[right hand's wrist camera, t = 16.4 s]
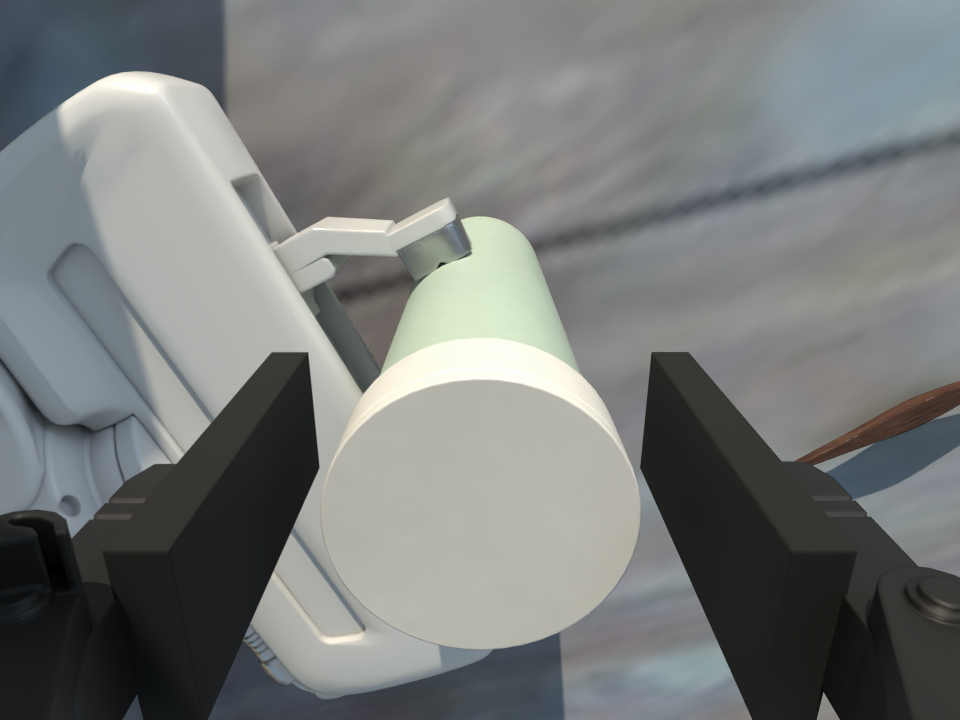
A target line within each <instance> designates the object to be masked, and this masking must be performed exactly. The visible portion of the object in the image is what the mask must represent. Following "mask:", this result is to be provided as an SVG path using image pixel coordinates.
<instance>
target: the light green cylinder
mask: <svg viewBox="0 0 960 720" xmlns="http://www.w3.org/2000/svg"><path fill="white" fill-rule="evenodd" d="M461 222H462V224H463V226H464V228H465V230H466V232H467V234H468V236H469V238H470V240H471V242H472V245H471V247H472V249H471V251H470V252H469V253H467V254H466V255H465V256H463V257H461V258H460V259H458V260H456V261H453V262H451V263H443V262H440V263H439V265H438V267H437V269H436V270H435V271H433V272H432V273H431V274H429V275H427V276H425V277H423V278H421V279H419V280H417V281H415V282H414V285H413V288H412V290H411V293H410V296H409V298H408V301H407V304H406V306H405V309H404V312H403V314H402V317H401V320H400V322H399V325H398V328H397V330H396V333H395V336H394V338H393V341H392V344H391V346H390V349H389V352H388V355H387V357H386V360H385V363H384V365H383V368H382V371H381V373H380V376H381V375H382V374H383V373H384V372H385V371H386V370H387V369H388V368H390V367H391V366H393V365H394V364H396V363H397V362H399V361H400V360H402V359H403V358H405V357H407V356H409V355H411V354H413V353H415V352H417V351H419V350H421V349H424V348H427V347H430V346H433V345H436V344H439V343H443V342H448V341H453V340H457V339H469V338H495V339H502V340H508V341H515V342H518V343H522V344H525V345H529V346H532V347H535V348H537V349H540V350H542V351H544V352H546V353H549V354H551V355H553V356H554V357H556V358H558V359H559V360H561V361H563V362H564V363H566V364H568V365H569V366H570V367H571V368H573V369H574V370H575V371H576V372H578V373H579V374H580V375H581V373H580V370H579V368H578V365H577V362H576V360H575V357H574V354H573V352H572V349H571V346H570V344H569V341H568V339H567V336H566V333H565V331H564V328H563V325H562V323H561V320H560V317H559V315H558V312H557V310H556V307H555V304H554V302H553V299H552V296H551V294H550V291H549V289H548V286H547V283H546V281H545V278H544V275H543V273H542V270H541V267H540V265H539V262H538V260H537V257H536V254H535V252H534V250H533V248H532V246H531V244H530V243H529V241H528V240H527V239H526V237H525V236H524V235H523V234H522V233H521V232H520V231H519V230H517V229H516V228H515V227H513V226H512V225H510V224H508V223H506V222H504V221H501V220H499V219H495V218H490V217H471V218H466V219H462V220H461ZM581 376H582V375H581Z"/></svg>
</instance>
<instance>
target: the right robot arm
mask: <svg viewBox="0 0 960 720" xmlns="http://www.w3.org/2000/svg"><path fill="white" fill-rule="evenodd" d="M319 468H320V466H319V456H318V446H317V435H316V425H315V415H314V405H313V395H312V385H311V374H310V364H309V354H308V352H271V354H270V355H269V356H268V357H267V358H266V359H265V361H264V362H263V363H262V364H261V365H260V366H259V368H258V369H257V370H256V371H255V372H254V373H253V375H252V376H251V377H250V378H249V379H248V381H247V382H246V383H245V384H244V385H243V386H242V388H241V389H240V390H239V391H238V392H237V393H236V395H235V396H234V397H233V398H232V399H231V400H230V402H229V403H228V404H227V405H226V406H225V407H224V409H223V410H222V411H221V412H220V413H219V414H218V416H217V417H216V418H215V419H214V420H213V422H212V423H211V424H210V425H209V426H208V427H207V429H206V430H205V431H204V432H203V433H202V434H201V436H200V437H199V438H198V439H197V440H196V441H195V443H194V444H193V445H192V446H191V447H190V448H189V450H188V451H187V452H186V453H185V454H184V456H183V457H182V458H181V459H180V460H179V461H178V463H177V464H154V465H152V466H150V467H149V468H147V469H145V470H143V471H142V472H140V473H138V474H137V475H135V476H133V477H131V478H130V479H128V480H127V481H126V482H125V483H124V484H123V485H122V486H121V487H120V488H119V489H118V490H117V491H116V492H115V493H114V494H113V495H112V496H111V498H110V499H109V503H105V504H104V505H103V506H102V507H101V508H100V509H99V510H98V511H97V512H96V513H95V514H94V518H93V519H90V520H89V521H88V522H87V523H86V524H85V525H84V526H83V527H82V528H81V529H80V530H79V531H78V532H77V533H76V534H75V535H74V537H73V538H72V539H71V536H70V532H69V528H68V524H67V520H66V519H65V518H63V517H62V516H61V515H59V514H58V513H56V512H51V511H45V510H38V509H37V510H26V511H14V512H10V513H6V514H2V515H0V720H122V719H123V717H124V715H125V714H126V712H127V710H128V709H129V707H130V705H131V704H132V702H133V700H134V698H135V697H136V695H138V699H139V703H140V707H141V712H142V716H143V720H208V717H209V715H210V713H211V711H212V708H213V706H214V704H215V702H216V699H217V697H218V695H219V693H220V690H221V688H222V686H223V684H224V681H225V679H226V677H227V675H228V672H229V670H230V668H231V666H232V663H233V661H234V659H235V657H236V655H237V652H238V650H239V648H240V646H241V643H242V641H243V639H244V637H245V634H246V632H247V630H248V628H249V625H250V623H251V621H252V619H253V616H254V614H255V612H256V610H257V607H258V605H259V603H260V601H261V598H262V596H263V594H264V592H265V589H266V587H267V585H268V583H269V580H270V578H271V576H272V574H273V571H274V569H275V567H276V565H277V563H278V560H279V558H280V556H281V554H282V551H283V549H284V547H285V545H286V542H287V540H288V538H289V536H290V533H291V531H292V529H293V527H294V524H295V522H296V520H297V518H298V515H299V513H300V511H301V509H302V506H303V504H304V502H305V500H306V497H307V495H308V493H309V491H310V488H311V486H312V484H313V482H314V479H315V477H316V475H317V473H318V470H319ZM640 468H641V470H642V473H643V475H644V477H645V479H646V482H647V484H648V486H649V488H650V491H651V493H652V495H653V497H654V500H655V502H656V504H657V506H658V509H659V511H660V513H661V515H662V518H663V520H664V522H665V524H666V527H667V529H668V531H669V533H670V536H671V538H672V540H673V542H674V545H675V547H676V549H677V551H678V554H679V556H680V558H681V560H682V563H683V565H684V567H685V569H686V571H687V574H688V576H689V578H690V580H691V583H692V585H693V587H694V589H695V592H696V594H697V596H698V598H699V601H700V603H701V605H702V607H703V610H704V612H705V614H706V616H707V619H708V621H709V623H710V625H711V628H712V630H713V632H714V634H715V637H716V639H717V641H718V643H719V646H720V648H721V650H722V652H723V655H724V657H725V659H726V661H727V664H728V666H729V668H730V670H731V672H732V675H733V677H734V679H735V681H736V684H737V686H738V688H739V690H740V693H741V695H742V697H743V699H744V702H745V704H746V706H747V708H748V711H749V713H750V715H751V717H752V720H817V716H818V711H819V707H820V703H821V699H822V695H823V691H824V693H825V695H826V697H827V698H828V700H829V702H830V703H831V705H832V707H833V708H834V710H835V712H836V714H837V715H838V717H839V719H840V720H960V578H959V577H957V576H955V575H952V574H949V573H945V572H942V571H938V570H935V569H932V568H926V567H918V566H917V565H916V564H915V563H914V562H913V561H912V559H911V558H910V557H909V556H908V555H907V554H906V553H905V552H904V551H903V550H902V549H901V548H900V547H899V546H898V545H897V544H896V543H895V542H894V541H893V540H892V539H891V537H890V536H889V535H888V534H887V533H886V532H885V531H884V530H883V529H882V528H881V527H880V526H879V525H878V524H877V523H876V522H875V521H874V520H873V519H872V518H871V517H867V512H866V511H865V510H864V509H863V508H862V507H861V506H860V505H859V504H858V503H857V502H856V501H852V497H851V496H850V495H849V494H848V493H847V491H846V490H845V489H844V488H843V487H842V486H841V485H840V484H839V483H838V482H837V481H836V480H835V479H834V478H833V477H831V476H829V475H828V474H826V473H824V472H823V471H821V470H819V469H817V468H816V467H814V466H812V465H811V464H809V463H807V462H782V461H781V460H780V459H779V458H778V457H777V456H776V454H775V453H774V452H773V451H772V450H771V448H770V447H769V446H768V445H767V444H766V443H765V441H764V440H763V439H762V438H761V437H760V436H759V434H758V433H757V432H756V431H755V430H754V429H753V427H752V426H751V425H750V424H749V423H748V422H747V420H746V419H745V418H744V417H743V416H742V414H741V413H740V412H739V411H738V410H737V409H736V407H735V406H734V405H733V404H732V403H731V402H730V400H729V399H728V398H727V397H726V396H725V395H724V393H723V392H722V391H721V390H720V389H719V388H718V386H717V385H716V384H715V383H714V382H713V381H712V379H711V378H710V377H709V376H708V375H707V373H706V372H705V371H704V370H703V369H702V368H701V366H700V365H699V364H698V363H697V362H696V361H695V359H694V358H693V357H692V356H691V355H690V354H689V352H652V354H651V364H650V374H649V385H648V395H647V405H646V415H645V425H644V435H643V446H642V456H641V466H640Z"/></svg>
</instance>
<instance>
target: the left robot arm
mask: <svg viewBox="0 0 960 720" xmlns="http://www.w3.org/2000/svg"><path fill="white" fill-rule="evenodd" d="M456 213H457V212H456V210H455V208H454V206H453V204H452V203H451V201H450V199H449V198H446V199H444V200H441V201H439V202H437V203H435V204H433V205H431V206H429V207H427V208H425V209H424V210H422V211H420V212H418V213H416V214H414V215H412V216H410V217H408V218H407V219H405V220H403V221H401V222H399V223H397V224H395V223H394V221H392V220H374V219H357V218H339V217H327V218H325V219H323V220H321V221H319V222H317V223H315V224H314V225H312V226H310V227H308V228H306V229H304V230H303V231H301V232H299V233H297V231H296V230H295V228H294V226H293V225H292V223H291V222H290V220H289V218H288V217H287V215H286V213H285V212H284V210H283V208H282V207H281V205H280V203H279V202H278V200H277V199H276V197H275V195H274V194H273V192H272V190H271V189H270V187H269V185H268V184H267V182H266V181H265V179H264V177H263V176H262V174H261V172H260V171H259V169H258V167H257V166H256V164H255V163H254V161H253V159H252V158H251V156H250V154H249V153H248V151H247V149H246V148H245V146H244V145H243V143H242V141H241V140H240V138H239V136H238V135H237V133H236V131H235V130H234V128H233V127H232V125H231V123H230V122H229V120H228V118H227V117H226V115H225V113H224V112H223V110H222V108H221V107H220V105H219V103H218V102H217V100H216V99H215V97H214V96H213V94H212V93H211V92H210V91H209V90H208V89H207V88H205V87H204V86H202V85H200V84H197V83H194V82H191V81H187V80H184V79H180V78H177V77H174V76H169V75H164V74H159V73H153V72H139V71H134V72H122V73H118V74H114V75H110V76H108V77H105V78H103V79H101V80H98V81H96V82H95V83H93V84H91V85H90V86H88V87H86V88H85V89H83V90H81V91H80V92H78V93H77V94H75V95H74V96H72V97H71V98H69V99H68V100H66V101H65V102H63V103H62V104H60V105H59V106H58V107H56V108H55V109H54V110H52V111H51V112H49V113H48V114H47V115H45V116H44V117H43V118H41V119H40V120H38V121H37V122H36V123H35V124H33V125H32V126H31V127H30V128H28V129H27V130H26V131H24V132H23V133H22V134H21V135H19V136H18V137H17V138H16V139H15V140H13V141H12V142H11V143H10V144H9V145H7V146H6V147H5V148H4V149H3V150H1V151H0V515H2V514H6V513H10V512H14V511H26V510H37V509H38V510H45V511H51V512H56V513H58V514H59V515H61V516H62V517H63V518H65V519H66V520H67V524H68V528H69V532H70V536H71V539H72V538H73V537H74V535H75V534H76V533H77V532H78V531H79V530H80V529H81V528H82V527H83V526H84V525H85V524H86V523H87V522H88V521H89V520H90V519H93V518H94V514H95V513H96V512H97V511H98V510H99V509H100V508H101V507H102V506H103V505H104V504H105V503H109V499H110V498H111V496H112V495H113V494H114V493H115V492H116V491H117V490H118V489H119V488H120V487H121V486H122V485H123V484H124V483H125V482H126V481H127V480H128V479H130V478H131V477H133V476H135V475H137V474H138V473H140V472H142V471H143V470H145V469H147V468H149V467H150V466H152V465H154V464H177V463H178V461H179V460H180V459H181V458H182V457H183V456H184V454H185V453H186V452H187V451H188V450H189V448H190V447H191V446H192V445H193V444H194V443H195V441H196V440H197V439H198V438H199V437H200V436H201V434H202V433H203V432H204V431H205V430H206V429H207V427H208V426H209V425H210V424H211V423H212V422H213V420H214V419H215V418H216V417H217V416H218V414H219V413H220V412H221V411H222V410H223V409H224V407H225V406H226V405H227V404H228V403H229V402H230V400H231V399H232V398H233V397H234V396H235V395H236V393H237V392H238V391H239V390H240V389H241V388H242V386H243V385H244V384H245V383H246V382H247V381H248V379H249V378H250V377H251V376H252V375H253V373H254V372H255V371H256V370H257V369H258V368H259V366H260V365H261V364H262V363H263V362H264V361H265V359H266V358H267V357H268V356H269V355H270V354H271V352H308V354H309V364H310V374H311V385H312V395H313V405H314V415H315V425H316V435H317V446H318V456H319V466H320V468H319V470H318V473H317V475H316V477H315V479H314V482H313V484H312V486H311V488H310V491H309V493H308V495H307V497H306V500H305V502H304V504H303V506H302V509H301V511H300V513H299V515H298V518H297V520H296V522H295V524H294V527H293V529H292V531H291V533H290V536H289V538H288V540H287V542H286V545H285V547H284V549H283V551H282V554H281V556H280V558H279V560H278V563H277V565H276V567H275V569H274V571H273V574H272V576H271V578H270V580H269V583H268V585H267V587H266V589H265V592H264V594H263V596H262V598H261V601H260V603H259V605H258V607H257V610H256V612H255V614H254V616H253V619H252V621H251V623H250V625H249V628H248V630H247V632H246V634H245V637H244V639H243V641H242V642H243V643H245V644H246V645H247V646H248V647H249V648H250V649H251V651H252V652H254V654H255V655H256V657H257V658H258V659H259V660H258V661H259V664H260V665H261V667H262V669H263V670H264V671H265V672H266V674H267V675H268V676H269V677H270V678H271V679H272V680H274V681H275V682H276V683H278V684H279V685H281V686H287V685H289V684H292V685H294V686H295V687H297V688H299V689H301V690H303V691H305V692H308V693H312V694H316V696H317V697H319V698H321V699H335V698H338V697H342V696H344V695H351V694H359V693H365V692H371V691H375V690H380V689H384V688H389V687H393V686H397V685H401V684H405V683H409V682H413V681H417V680H421V679H424V678H428V677H431V676H435V675H438V674H441V673H445V672H448V671H451V670H454V669H458V668H460V667H463V666H466V665H469V664H472V663H474V662H477V661H479V660H481V659H483V658H485V657H486V656H488V655H489V654H490V653H491V651H492V650H493V649H490V650H472V649H459V648H452V647H445V646H441V645H437V644H433V643H429V642H425V641H423V640H420V639H417V638H414V637H411V636H409V635H407V634H405V633H403V632H401V631H399V630H397V629H394V628H393V627H391V626H389V625H388V624H386V623H385V622H383V621H381V620H380V619H378V618H377V617H376V616H374V615H373V614H372V613H371V612H369V611H368V610H367V609H366V608H365V607H363V606H362V605H361V604H360V603H359V602H358V601H357V599H356V598H355V597H354V596H353V595H352V594H351V593H350V592H349V591H348V589H347V588H346V586H345V585H344V584H343V582H342V581H341V580H340V578H339V576H338V575H337V573H336V571H335V569H334V567H333V565H332V564H331V561H330V558H329V556H328V553H327V550H326V548H325V544H324V540H323V535H322V530H321V518H320V506H321V496H322V490H323V486H324V482H325V478H326V475H327V472H328V470H329V467H330V465H331V463H332V460H333V458H334V455H335V453H336V451H337V448H338V446H339V443H340V441H341V439H342V436H343V434H344V431H345V429H346V427H347V424H348V422H349V420H350V417H351V415H352V413H353V410H354V408H355V407H356V405H357V404H358V402H359V400H360V399H361V397H362V395H363V394H364V393H365V392H366V390H367V389H368V388H369V387H370V386H371V384H372V383H373V382H374V381H375V380H376V379H377V378H378V377H379V376H380V373H381V369H380V367H379V366H378V364H377V362H376V361H375V359H374V357H373V356H372V354H371V353H370V351H369V349H368V348H367V346H366V344H365V343H364V341H363V339H362V338H361V336H360V335H359V333H358V331H357V330H356V328H355V326H354V325H353V323H352V321H351V320H350V318H349V317H348V315H347V313H346V312H345V310H344V308H343V307H342V305H341V303H340V302H339V300H338V298H337V297H336V295H335V294H334V292H333V290H332V289H331V287H330V285H329V284H328V282H327V280H328V279H330V278H332V277H333V276H335V274H336V273H337V272H338V271H339V270H340V269H341V267H342V266H343V265H344V264H345V263H346V261H347V260H348V258H349V255H356V256H392V257H399V255H400V257H401V259H402V261H403V262H404V264H405V266H406V267H407V269H408V271H409V272H410V274H411V276H412V277H413V279H414V281H417V280H419V279H421V278H423V277H425V276H427V275H429V274H431V273H432V272H433V271H435V270H436V269H437V267H438V265H439V263H440V262H443V263H451V262H453V261H456V260H458V259H460V258H461V257H463V256H465V255H466V254H467V253H469V252H470V251H471V249H472V247H471V245H472V242H471V240H470V238H469V236H468V234H467V232H466V230H465V228H464V226H463V224H462V222H461V220H460V218H459V216H458V214H456Z"/></svg>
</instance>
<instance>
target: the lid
mask: <svg viewBox="0 0 960 720" xmlns="http://www.w3.org/2000/svg"><path fill="white" fill-rule="evenodd" d="M320 518H321V530H322V535H323V540H324V544H325V548H326V550H327V553H328V556H329V558H330V561H331V564H332V565H333V567H334V569H335V571H336V573H337V575H338V576H339V578H340V580H341V581H342V582H343V584H344V585H345V586H346V588H347V589H348V591H349V592H350V593H351V594H352V595H353V596H354V597H355V598H356V599H357V601H358V602H359V603H360V604H361V605H362V606H363V607H365V608H366V609H367V610H368V611H369V612H371V613H372V614H373V615H374V616H376V617H377V618H378V619H380V620H381V621H383V622H385V623H386V624H388V625H389V626H391V627H393V628H394V629H397V630H399V631H401V632H403V633H405V634H407V635H409V636H411V637H414V638H417V639H420V640H423V641H425V642H429V643H433V644H437V645H441V646H445V647H452V648H459V649H472V650H490V649H504V648H510V647H515V646H521V645H525V644H529V643H532V642H536V641H539V640H542V639H545V638H547V637H549V636H552V635H554V634H557V633H559V632H561V631H563V630H565V629H567V628H568V627H570V626H572V625H574V624H576V623H577V622H578V621H580V620H581V619H583V618H584V617H586V616H587V615H588V614H590V613H591V612H592V611H593V610H594V609H596V608H597V607H598V606H599V605H600V604H601V603H602V602H603V601H604V600H605V599H606V598H607V597H608V596H609V594H610V593H611V592H612V591H613V590H614V589H615V588H616V586H617V585H618V583H619V581H620V580H621V578H622V577H623V575H624V574H625V572H626V570H627V568H628V566H629V564H630V562H631V560H632V558H633V555H634V552H635V548H636V545H637V542H638V539H639V532H640V525H641V499H640V493H639V487H638V483H637V480H636V477H635V474H634V471H633V468H632V465H631V463H630V461H629V458H628V456H627V454H626V451H625V449H624V446H623V444H622V442H621V439H620V437H619V435H618V432H617V430H616V428H615V425H614V423H613V420H612V418H611V416H610V414H609V412H608V410H607V408H606V406H605V404H604V403H603V401H602V400H601V398H600V397H599V395H598V394H597V393H596V391H595V390H594V388H593V387H592V386H591V385H590V384H589V383H588V382H587V381H586V380H585V379H584V378H583V377H582V376H581V375H580V374H579V373H578V372H576V371H575V370H574V369H573V368H571V367H570V366H569V365H568V364H566V363H564V362H563V361H561V360H559V359H558V358H556V357H554V356H553V355H551V354H549V353H546V352H544V351H542V350H540V349H537V348H535V347H532V346H529V345H525V344H522V343H518V342H515V341H508V340H502V339H495V338H469V339H457V340H453V341H448V342H443V343H439V344H436V345H433V346H430V347H427V348H424V349H421V350H419V351H417V352H415V353H413V354H411V355H409V356H407V357H405V358H403V359H402V360H400V361H399V362H397V363H396V364H394V365H393V366H391V367H390V368H388V369H387V370H386V371H385V372H384V373H383V374H382V375H381V376H379V377H378V378H377V379H376V380H375V381H374V382H373V383H372V384H371V386H370V387H369V388H368V389H367V390H366V392H365V393H364V394H363V395H362V397H361V399H360V400H359V402H358V404H357V405H356V407H355V408H354V410H353V413H352V415H351V417H350V420H349V422H348V424H347V427H346V429H345V431H344V434H343V436H342V439H341V441H340V443H339V446H338V448H337V451H336V453H335V455H334V458H333V460H332V463H331V465H330V467H329V470H328V472H327V475H326V478H325V482H324V486H323V490H322V496H321V506H320Z"/></svg>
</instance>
